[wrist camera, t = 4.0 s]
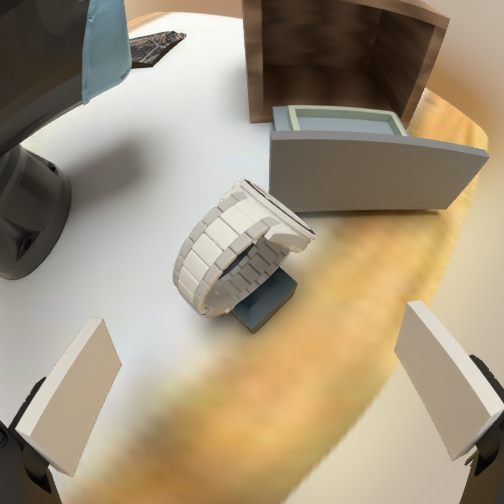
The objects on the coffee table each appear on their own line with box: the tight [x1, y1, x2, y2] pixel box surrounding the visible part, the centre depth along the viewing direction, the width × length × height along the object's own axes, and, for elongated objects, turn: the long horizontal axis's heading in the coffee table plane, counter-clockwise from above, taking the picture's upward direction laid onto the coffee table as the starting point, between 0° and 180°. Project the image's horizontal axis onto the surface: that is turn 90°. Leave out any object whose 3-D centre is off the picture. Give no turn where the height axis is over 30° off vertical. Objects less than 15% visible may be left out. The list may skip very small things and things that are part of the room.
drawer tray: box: [269, 105, 489, 212], centre depth 22 cm, size 18×13×8 cm
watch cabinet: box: [242, 0, 450, 128], centre depth 24 cm, size 20×14×17 cm
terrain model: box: [129, 31, 186, 69], centre depth 41 cm, size 20×15×3 cm
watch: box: [173, 179, 316, 334], centre depth 17 cm, size 6×8×11 cm
